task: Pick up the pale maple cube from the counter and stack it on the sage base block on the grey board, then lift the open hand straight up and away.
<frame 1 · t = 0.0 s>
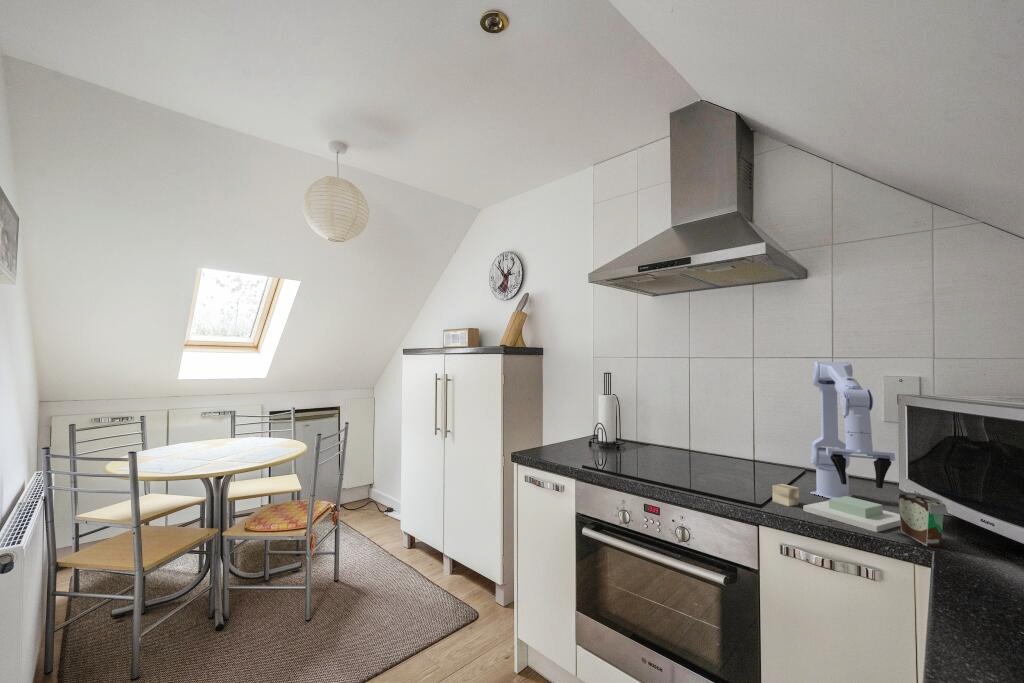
hand: (861, 486, 118), 11 cm above the worktop, tool pointing down, fingers open, 7 cm apart
maple cube: (785, 503, 137), on the worktop
base board: (855, 516, 126), on the worktop
food container: (928, 541, 109), on the worktop
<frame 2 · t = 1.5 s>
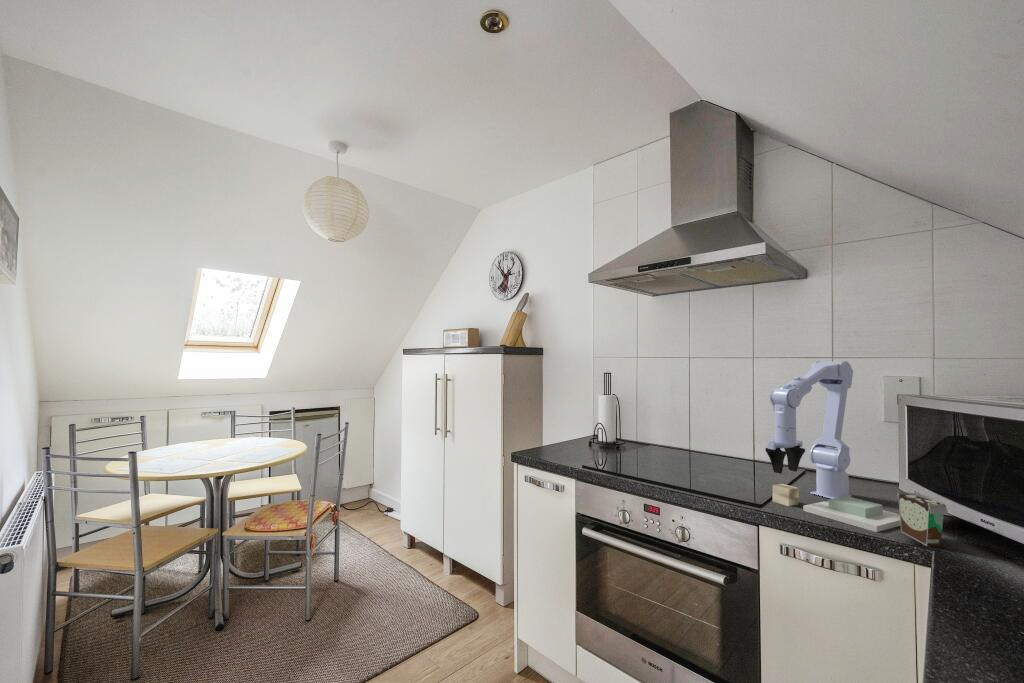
hand: (785, 471, 138), 9 cm above the worktop, tool pointing down, fingers open, 7 cm apart
nothing on the worktop moved.
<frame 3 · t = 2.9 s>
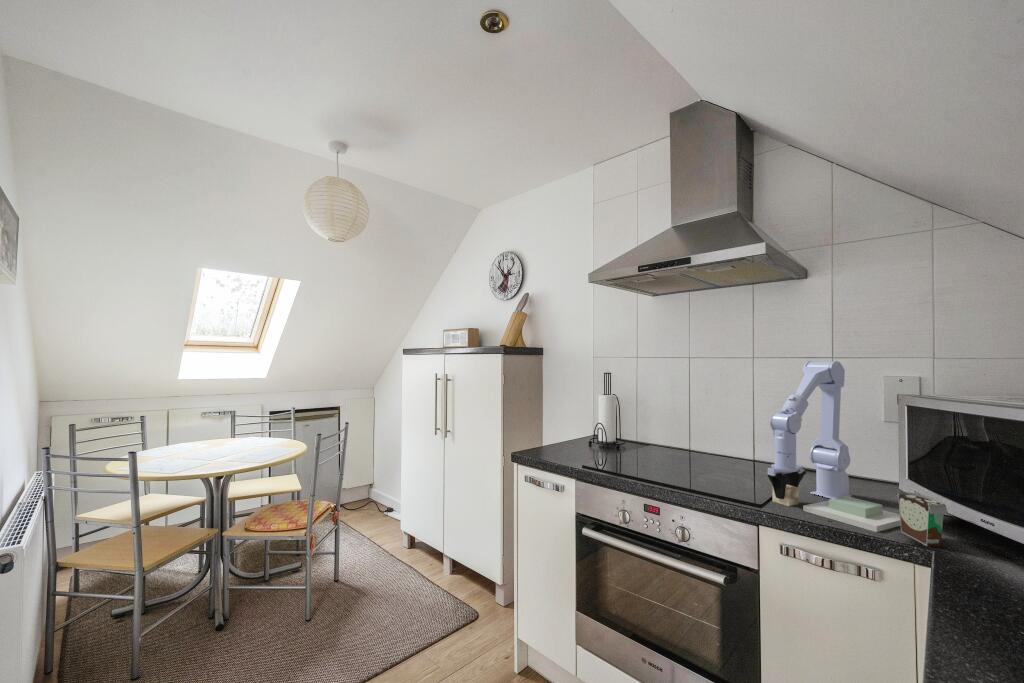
hand: (785, 497, 137), 2 cm above the worktop, tool pointing down, fingers closed on maple cube, 5 cm apart
maple cube: (785, 502, 137), on the worktop, touching gripper
everything else where it was.
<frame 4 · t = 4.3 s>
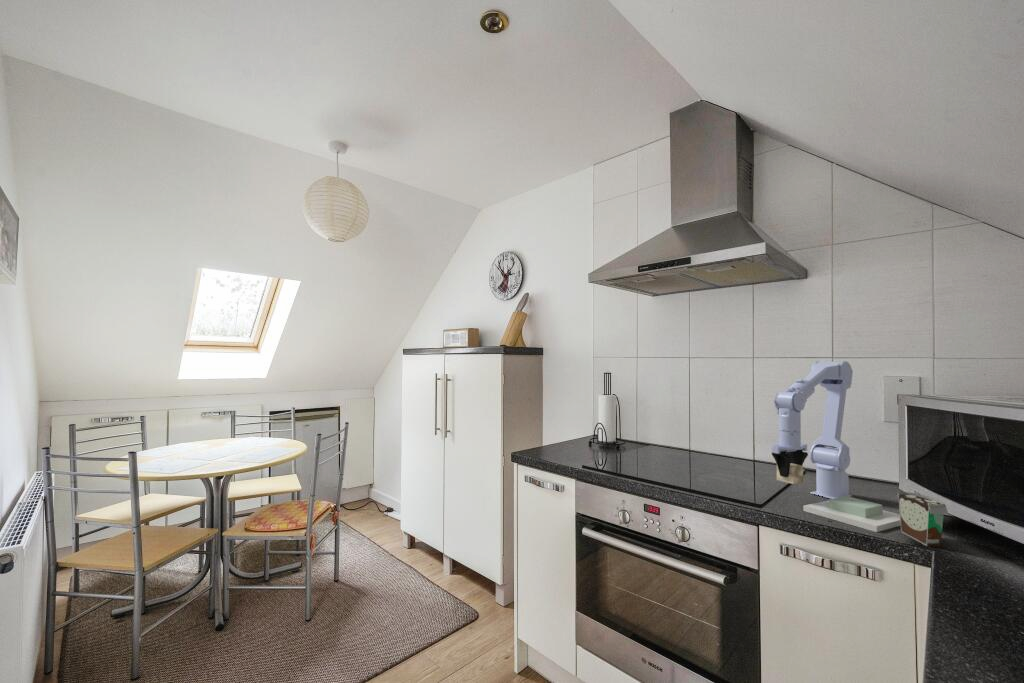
hand: (789, 475, 137), 8 cm above the worktop, tool pointing down, fingers closed on maple cube, 5 cm apart
maple cube: (789, 481, 137), point 7 cm above the worktop, touching gripper
everything else where it was.
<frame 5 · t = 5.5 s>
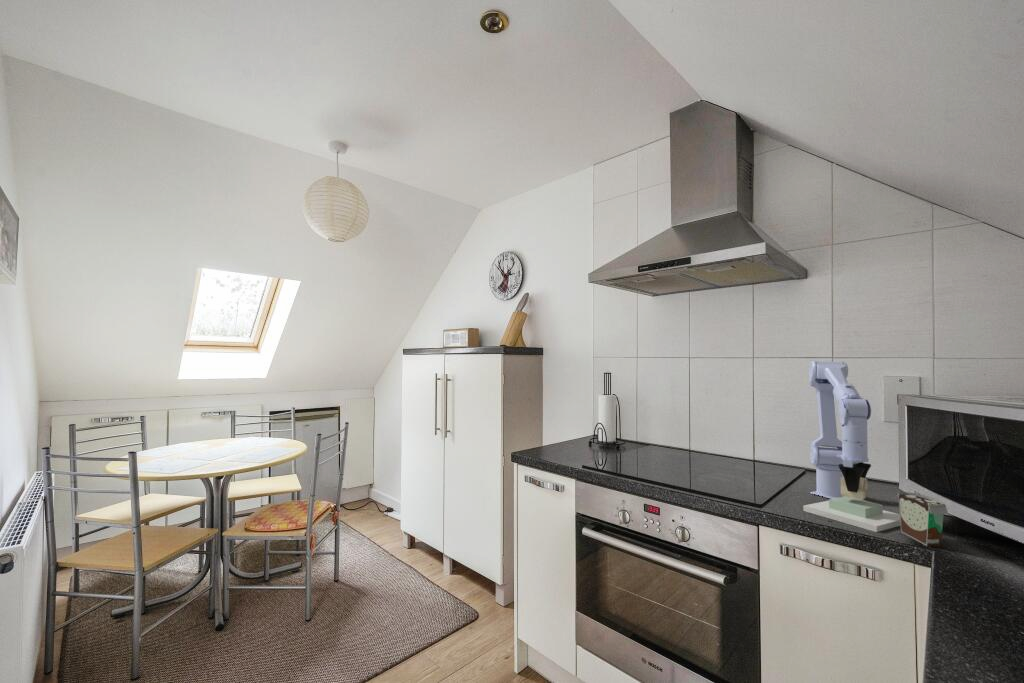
hand: (855, 490, 126), 7 cm above the worktop, tool pointing down, fingers closed on maple cube, 5 cm apart
maple cube: (854, 496, 126), point 6 cm above the worktop, touching gripper
everything else where it was.
when the fingers open (7 cm above the worktop, at t = 6.1 s): maple cube drops 1 cm, resting on base board.
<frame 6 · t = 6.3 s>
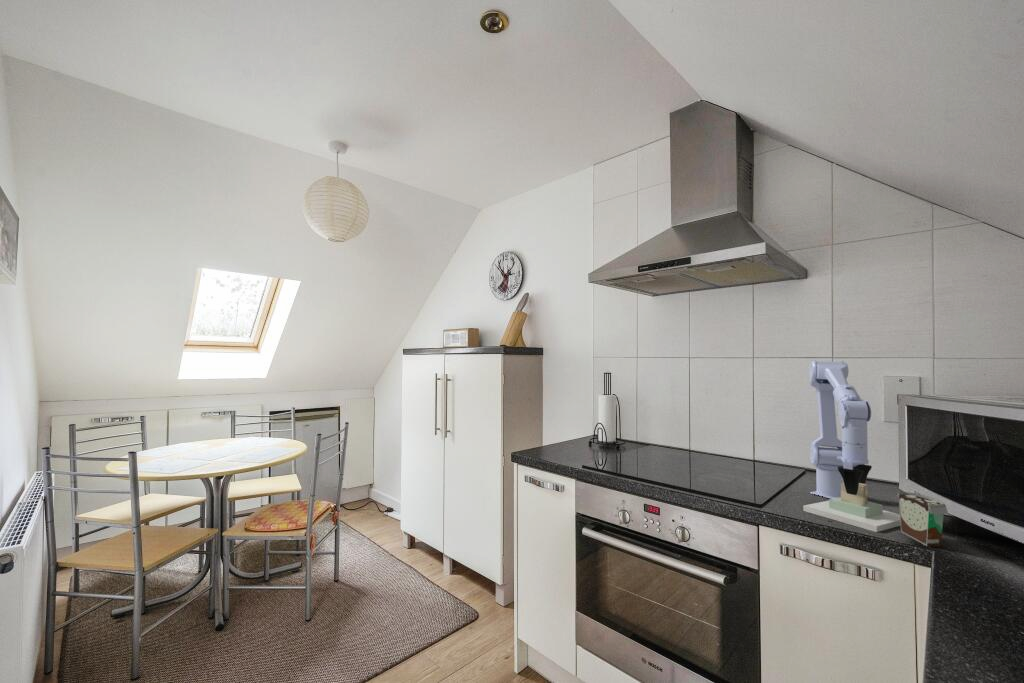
hand: (855, 492, 126), 7 cm above the worktop, tool pointing down, fingers open, 7 cm apart
maple cube: (854, 501, 126), point 4 cm above the worktop, touching base board
everything else where it was.
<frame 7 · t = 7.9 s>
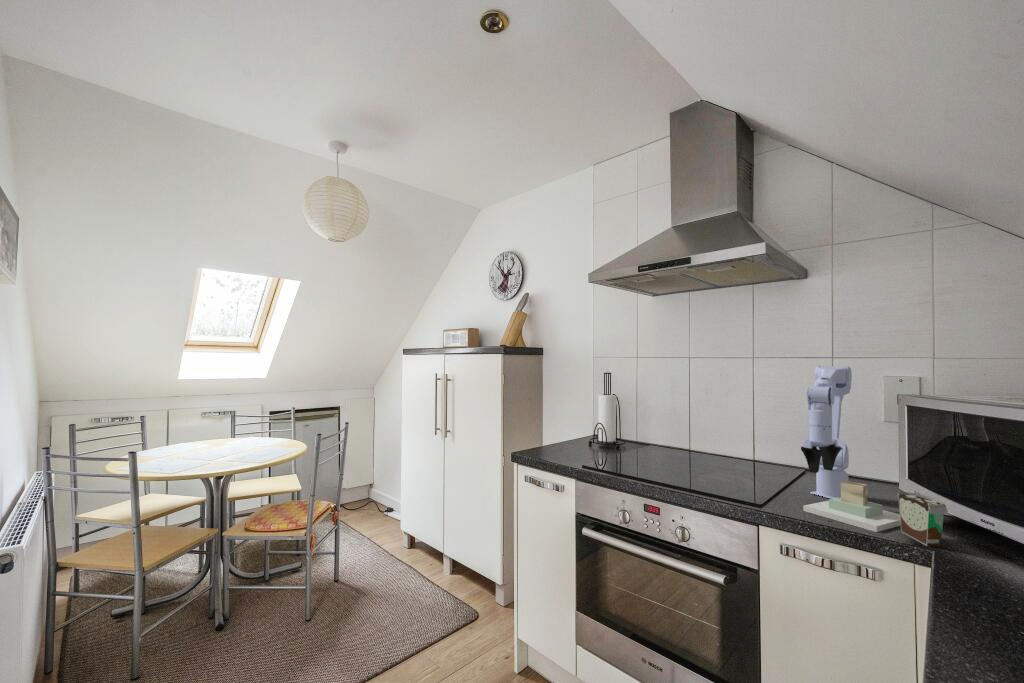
hand: (821, 470, 136), 10 cm above the worktop, tool pointing down, fingers open, 7 cm apart
nothing on the worktop moved.
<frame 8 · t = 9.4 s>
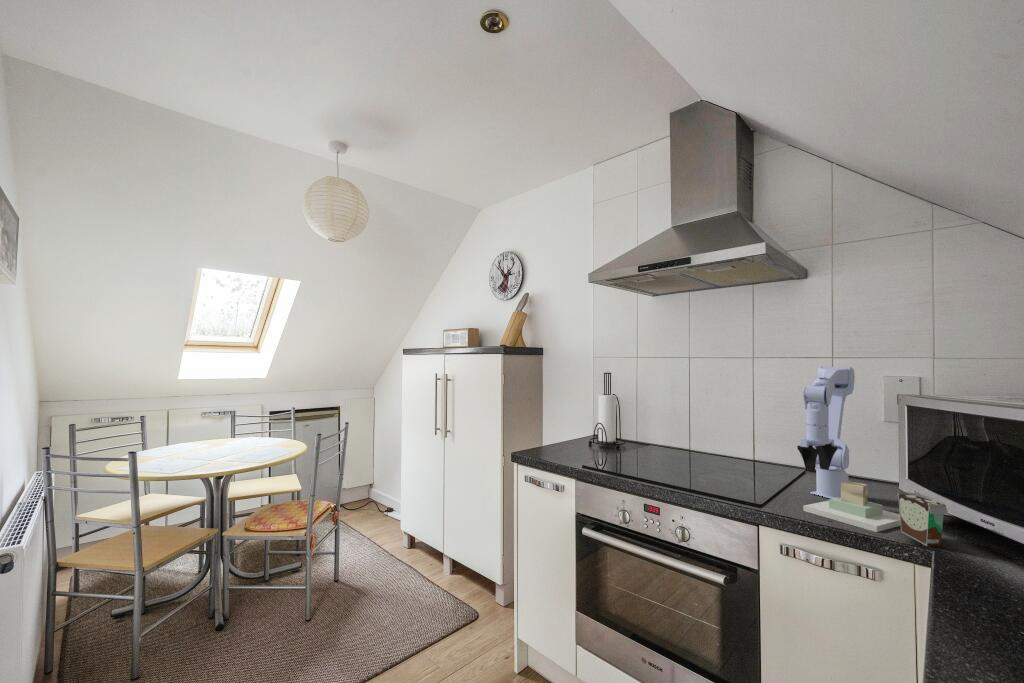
hand: (817, 470, 137), 10 cm above the worktop, tool pointing down, fingers open, 7 cm apart
nothing on the worktop moved.
at the end: maple cube inside the target area on the base board (0.3 cm from its centre), point 4.0 cm above the base board's base; maple cube tilted 0°; the gripper is holding nothing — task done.
